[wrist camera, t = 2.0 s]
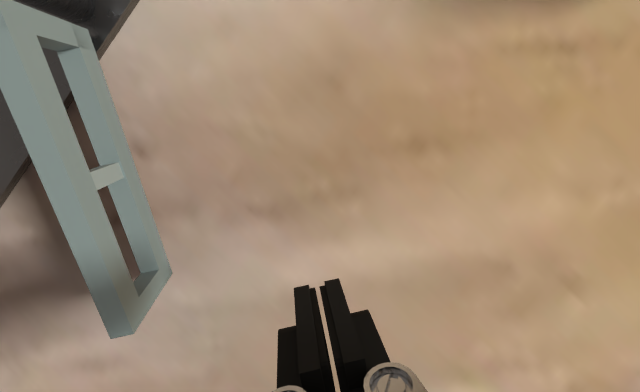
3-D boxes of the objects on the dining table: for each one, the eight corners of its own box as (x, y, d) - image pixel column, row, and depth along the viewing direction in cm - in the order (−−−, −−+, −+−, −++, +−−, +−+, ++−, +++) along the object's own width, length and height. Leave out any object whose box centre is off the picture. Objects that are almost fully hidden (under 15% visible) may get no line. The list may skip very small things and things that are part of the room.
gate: (66, 32, 23) (-40, -3, 15) (87, 29, 23) (-7, -8, 16) (155, 276, 29) (110, 339, 21) (172, 273, 29) (133, 333, 21)
